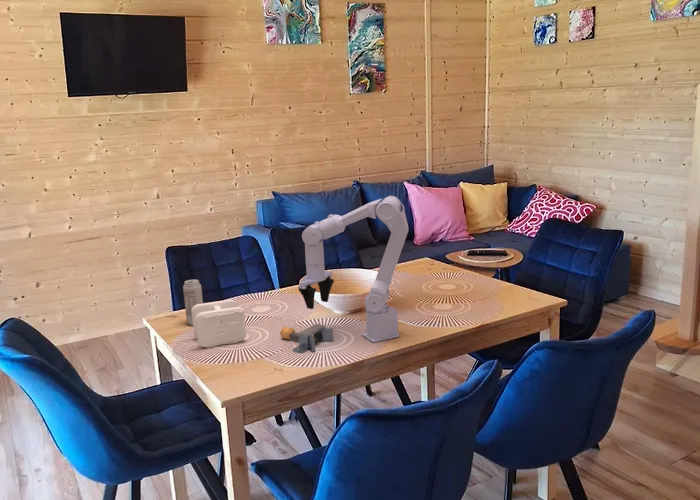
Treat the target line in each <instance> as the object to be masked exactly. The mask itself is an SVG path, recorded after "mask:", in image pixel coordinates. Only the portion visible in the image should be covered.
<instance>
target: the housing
mask: <svg viewBox="0 0 700 500" xmlns="http://www.w3.org/2000/svg"><path fill="white" fill-rule="evenodd" d="M297 333H298V337H299V342H298V346H296V347H294V348H292V352H294V353H300V354H303V353H305V352H307V351H310V352H311V353H316V344H315V339H314V338H313V337H316V341H319V342H322V343H326V342H327V343H328V342H334V340H335V339H334V328H333V327H332V328H331V327H329V328H328V327H326V325H324V324H320V323H314V324H313V325H311V326H309V327H307V328H305V329H304V330H301V331H299V332H297ZM312 336H313V337H312Z"/></svg>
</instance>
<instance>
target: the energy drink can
mask: <svg viewBox="0 0 700 500" xmlns="http://www.w3.org/2000/svg"><path fill="white" fill-rule="evenodd" d="M182 289H183V291H182V292H183V301H184V308H185V309H184V310H185V317H186V318H185V319H186V323H187V324H188V325H189V326H192V327H193V320H192V308H193V306H195V305H197V304H203V303H204V301H203V290H202V285H201V283H200V280H199V279H188V280H185V281H184V284H183V286H182Z"/></svg>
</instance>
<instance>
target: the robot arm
mask: <svg viewBox="0 0 700 500" xmlns="http://www.w3.org/2000/svg"><path fill="white" fill-rule="evenodd" d="M365 218H371V219H374V220H376V219H377V218H378V219H379V220H380V221H381V222H382V223H383V224H384V225H386V226H387V229H388V230H389V231H390V235H389V239H388V241H387V245H386V247H385V251H384V253H383V256H382V259H381V262H380V264H379V268H378V271H377V274H376V276H375V280H374V282H373V285H372V287H371V288H370V290H369V292H368V294H367V295H366V296H365V298H364V300H363V301H364V302H363V303H364V308H365V316H366V317H365V318H366V319H365V320H366V332H363V333H361V335H362V337H364V338H366V339H367V340H369V341H370V342H372V343H377V342H382V341H387V340H390V339H394V338H395V339H396V338H399V337H400V335H399V317H398V313H397V310H396V308H395V307H393V306H389V304H388V303H387V302H388V300H389V298H390V287H391V281H392V278H393V276H394V273H395V270H396V267H397V265H398V261H399V258H400V257H401V256H400V255H401V253H402V250H403V249H404V248H403V247H404V245H405V241H406V239H407V236H408V233H409V229H410V228H409V224H408V220H407V217H406V212H405V206H404V205H403V203H402V201H401V200H400V199H399V198H398V197H397V196H395V195H388V196H386V197H384V198H379V199H376V200H374V201H370V202H368V203H366V204H364V205H362V206H359V207H358V208H356V209H354V210H352V211H350V212H348V213H346V214H344V215H339V214H333V213H331V214H329V215H327V218H325V219H322V220H320V221H319V220H316V221H315V222H314V224H310V225H309V226H307V227H306V228H305V229H304V230H303V231H302V234H301V238H302V242H303V243H304V248H305V249H304V254H305V269H306V271H305V272H306V275H304V278H303V279H302V280H301V281H299V283H298V284H299V285H298V287H297V288H298V291H299V293H300V295H302V297H303V300H304V302H305V306H306V309H309V310H313V309H314V307H315V295H316V291H317V288H316V287H315V288H314V287H312V286H313V285H315V284H317V285H318V289H319V294H320V296H319V297H320V300H321V302H324V303H328V302H329V298H330V297H329V296H330V292H331V289H332V287H333V284H334V283H335V282H334V281H335V280H334V279H333V271H330V270H325V268H326V267H325V256H324V255H325V254H324V253H325V252H324V242H323V240H328V239H329V238H332V237H335V236H337V235H338V234H341V233H343V232H344V231H345V230H346V226H348V225H350V224H354V223H356V222H358V221H360V220H363V219H365Z"/></svg>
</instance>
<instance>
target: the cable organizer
mask: <svg viewBox="0 0 700 500" xmlns="http://www.w3.org/2000/svg"><path fill="white" fill-rule="evenodd" d="M245 316H246V315H245V311H244V309H243V308H242V307H240V306H237V303H236V301H235V300H233V299H224V300H219V301H212V302H210V301H209V302H205V303H204V302H203V304H197V305H195V306H193V308H192V320H193V326H192V327H193V335H194V336H195V338H197V343H198V345H199V346H200V347H203V348H207V349H208V348H214V347H215V348H216V347H217V346H219V345H226V344H227V345H232V344H237V343H239V342H242V341H243V340H245V339H246V337H247V328H246V318H245Z"/></svg>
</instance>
